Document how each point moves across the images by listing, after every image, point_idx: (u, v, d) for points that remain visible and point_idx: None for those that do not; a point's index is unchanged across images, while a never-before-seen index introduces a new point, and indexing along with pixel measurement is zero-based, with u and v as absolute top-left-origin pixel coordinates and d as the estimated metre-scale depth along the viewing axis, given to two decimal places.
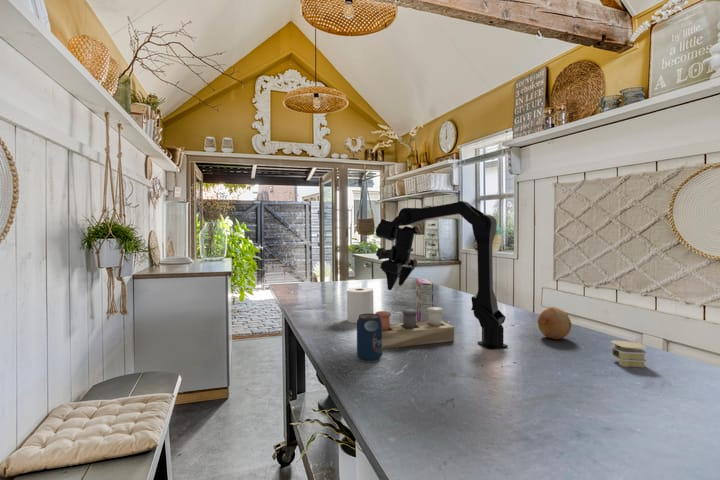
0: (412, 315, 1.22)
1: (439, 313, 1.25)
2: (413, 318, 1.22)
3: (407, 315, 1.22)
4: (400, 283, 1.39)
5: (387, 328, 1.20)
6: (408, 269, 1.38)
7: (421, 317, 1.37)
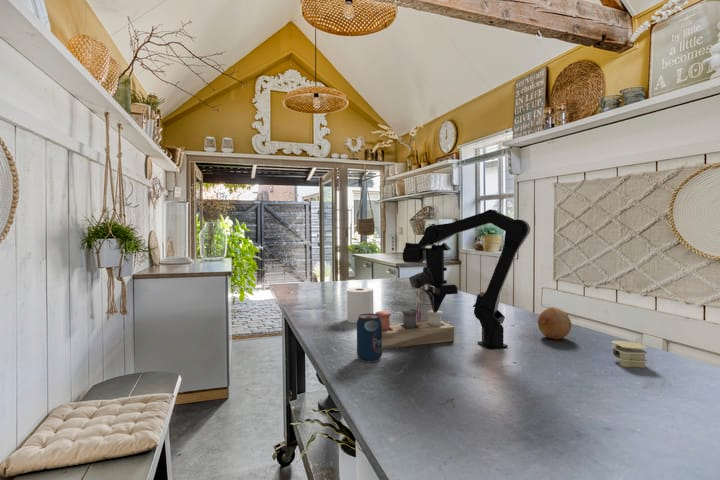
0: (412, 315, 1.22)
1: (439, 316, 1.25)
2: (413, 318, 1.22)
3: (407, 315, 1.22)
4: None
5: (387, 328, 1.20)
6: None
7: (421, 317, 1.37)
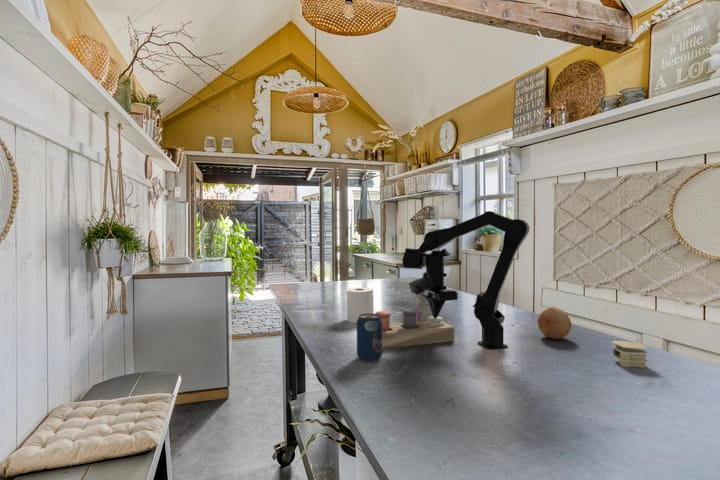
0: (412, 315, 1.22)
1: (439, 322, 1.25)
2: (413, 318, 1.22)
3: (407, 315, 1.22)
4: None
5: (387, 328, 1.20)
6: None
7: (421, 317, 1.37)
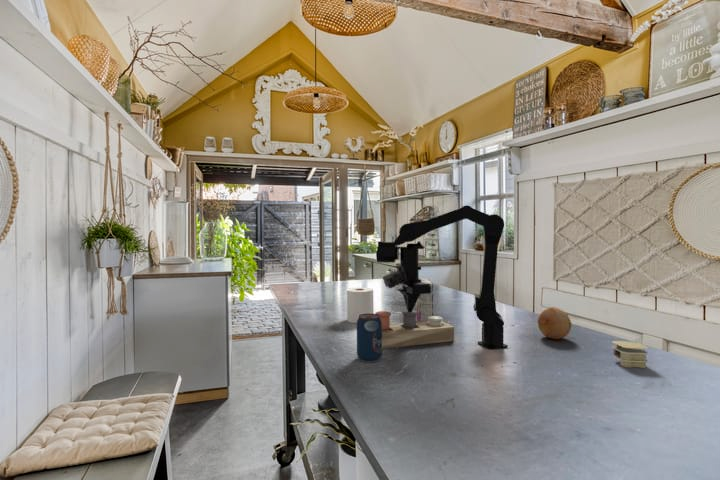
0: (412, 316, 1.22)
1: (439, 322, 1.25)
2: (413, 319, 1.22)
3: (407, 316, 1.22)
4: None
5: (387, 328, 1.20)
6: None
7: (421, 317, 1.37)
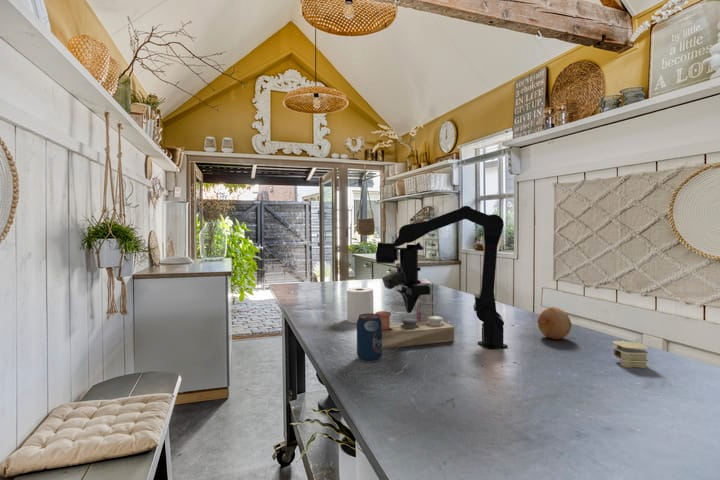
0: (412, 324, 1.22)
1: (439, 322, 1.25)
2: (413, 327, 1.23)
3: (407, 324, 1.22)
4: None
5: (387, 328, 1.20)
6: None
7: (421, 317, 1.37)
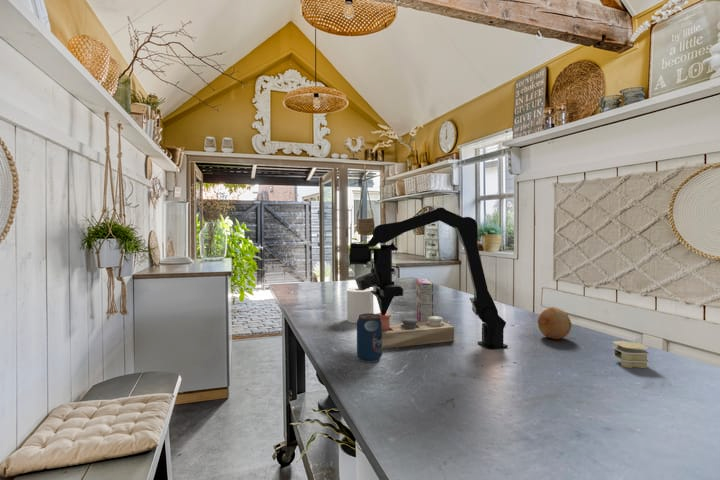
0: (412, 324, 1.22)
1: (439, 322, 1.25)
2: (413, 327, 1.23)
3: (407, 324, 1.22)
4: None
5: (387, 330, 1.20)
6: None
7: (421, 317, 1.37)
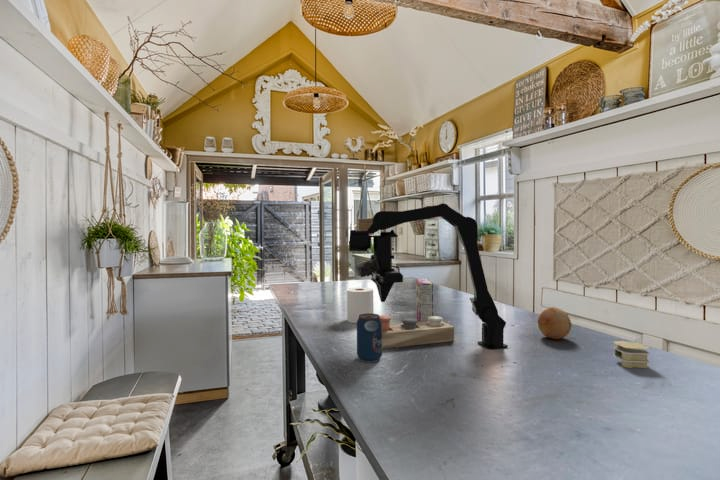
0: (412, 324, 1.22)
1: (439, 322, 1.25)
2: (413, 327, 1.23)
3: (407, 324, 1.22)
4: None
5: None
6: None
7: (421, 317, 1.37)
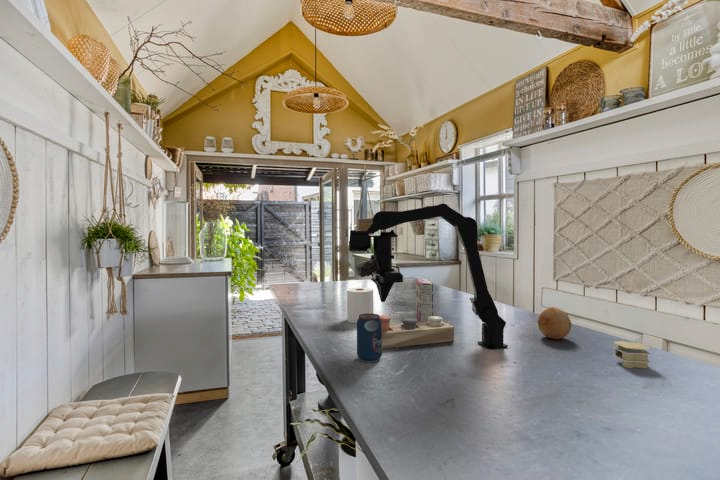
0: (412, 324, 1.22)
1: (439, 322, 1.25)
2: (413, 327, 1.23)
3: (407, 324, 1.22)
4: None
5: None
6: None
7: (421, 317, 1.37)
